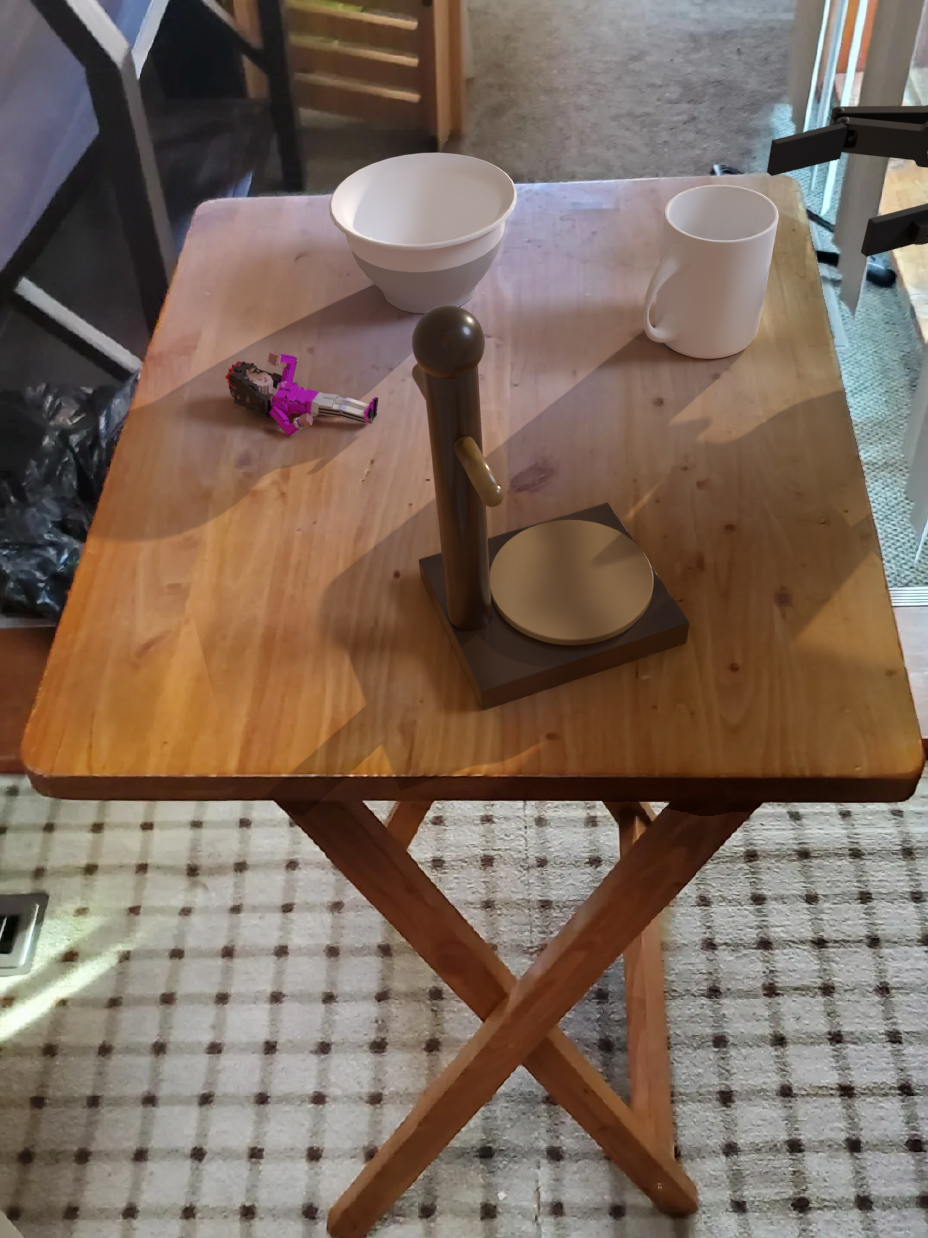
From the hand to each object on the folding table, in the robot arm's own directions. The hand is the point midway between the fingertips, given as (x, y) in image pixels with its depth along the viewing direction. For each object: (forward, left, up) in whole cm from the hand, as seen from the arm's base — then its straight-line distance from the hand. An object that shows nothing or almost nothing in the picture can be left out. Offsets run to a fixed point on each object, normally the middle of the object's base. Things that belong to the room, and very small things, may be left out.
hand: (816, 196), depth 84 cm
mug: (+8, +6, -10) cm, 14 cm away
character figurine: (+36, +23, -10) cm, 44 cm away
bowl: (+32, +3, -10) cm, 34 cm away
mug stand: (+12, +38, -10) cm, 41 cm away
